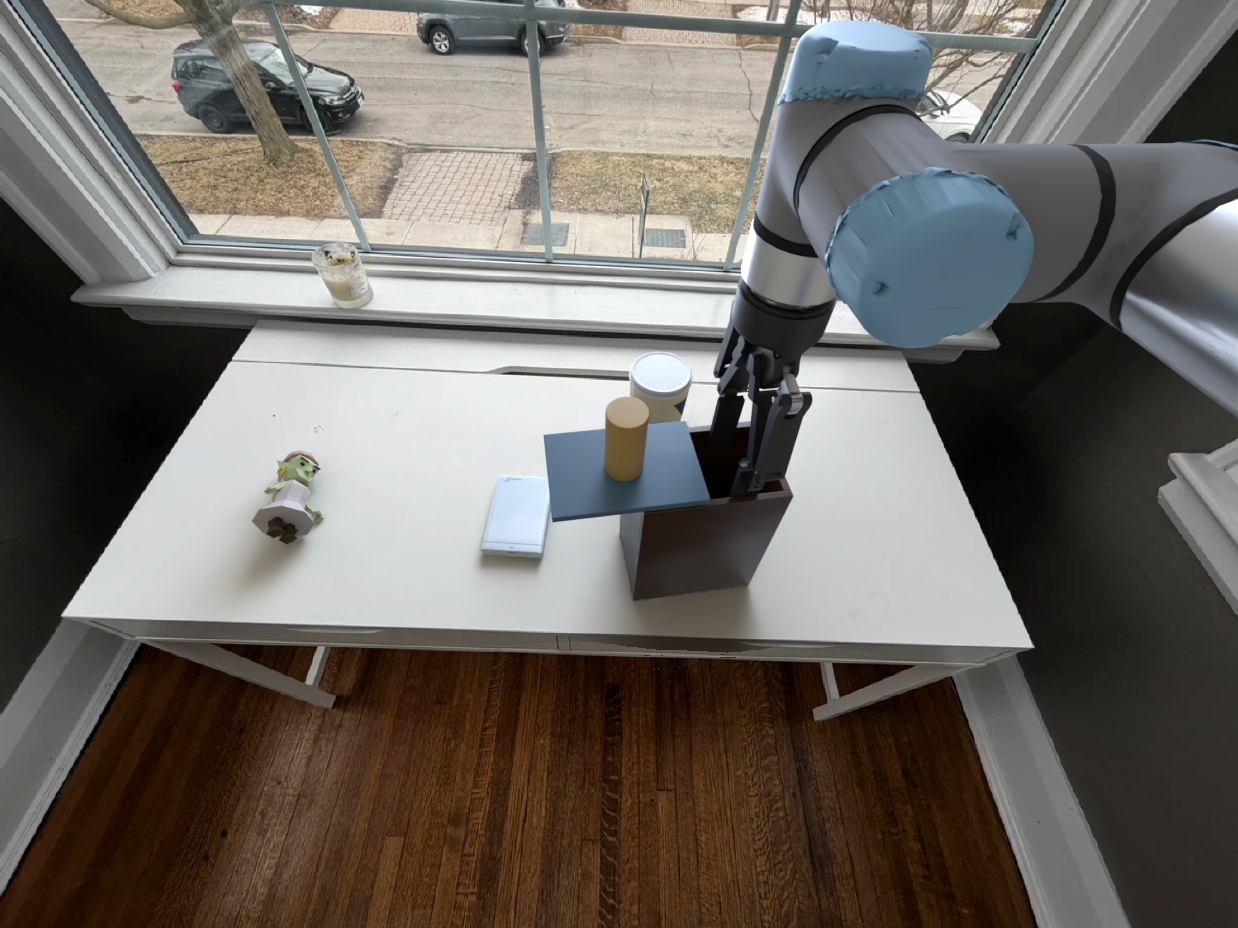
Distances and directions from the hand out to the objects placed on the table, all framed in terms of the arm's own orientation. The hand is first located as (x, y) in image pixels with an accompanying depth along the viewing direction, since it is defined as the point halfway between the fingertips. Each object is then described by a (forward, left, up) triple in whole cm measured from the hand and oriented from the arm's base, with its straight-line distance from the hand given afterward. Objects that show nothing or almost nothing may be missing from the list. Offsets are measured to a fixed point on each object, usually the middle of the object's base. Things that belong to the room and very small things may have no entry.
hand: (730, 468), depth 59 cm
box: (0, +3, -20) cm, 20 cm away
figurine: (+16, +51, -15) cm, 56 cm away
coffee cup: (+24, +2, -20) cm, 31 cm away
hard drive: (+9, +24, -20) cm, 33 cm away
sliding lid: (0, +12, +2) cm, 12 cm away
